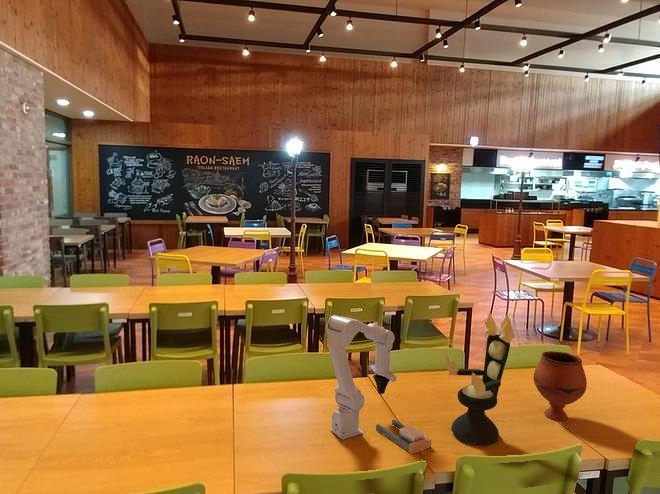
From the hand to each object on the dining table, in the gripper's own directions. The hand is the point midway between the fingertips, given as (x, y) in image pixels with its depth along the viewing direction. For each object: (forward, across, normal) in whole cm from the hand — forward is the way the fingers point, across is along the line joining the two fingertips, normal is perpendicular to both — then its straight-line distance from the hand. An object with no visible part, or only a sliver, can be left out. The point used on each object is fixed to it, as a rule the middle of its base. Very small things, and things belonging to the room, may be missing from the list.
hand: (381, 393), depth 199 cm
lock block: (+10, -22, +4) cm, 24 cm away
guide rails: (+9, -17, +4) cm, 20 cm away
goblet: (+10, -35, -62) cm, 72 cm away
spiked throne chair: (+10, -29, -23) cm, 38 cm away
